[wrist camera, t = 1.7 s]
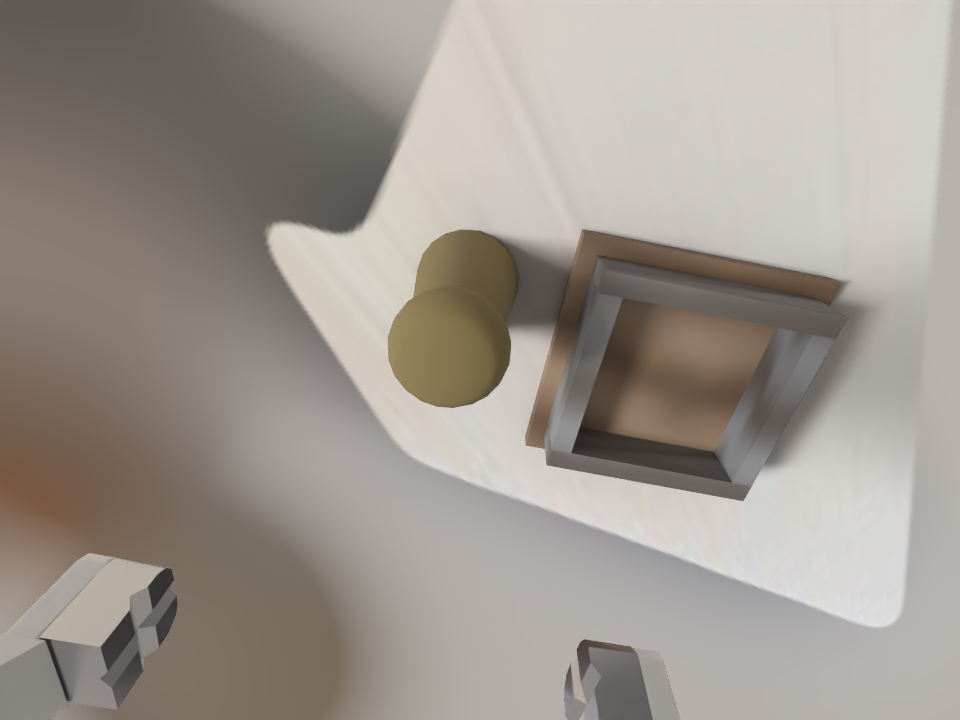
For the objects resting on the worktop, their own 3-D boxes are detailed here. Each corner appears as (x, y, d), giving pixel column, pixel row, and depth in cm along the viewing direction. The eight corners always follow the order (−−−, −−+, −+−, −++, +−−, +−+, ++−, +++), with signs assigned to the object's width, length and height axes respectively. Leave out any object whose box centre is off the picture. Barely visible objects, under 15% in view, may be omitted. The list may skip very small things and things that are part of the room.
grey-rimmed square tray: (582, 229, 27) (592, 247, 24) (830, 278, 28) (877, 303, 24) (525, 436, 34) (527, 474, 30) (726, 473, 34) (751, 515, 31)
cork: (447, 208, 27) (410, 263, 17) (538, 264, 28) (552, 344, 18) (400, 297, 30) (344, 387, 20) (485, 344, 31) (473, 452, 21)
